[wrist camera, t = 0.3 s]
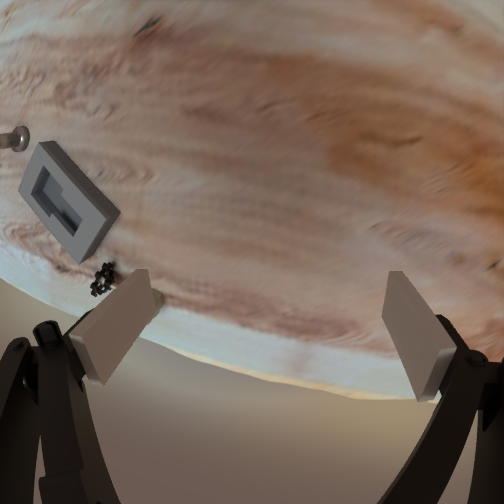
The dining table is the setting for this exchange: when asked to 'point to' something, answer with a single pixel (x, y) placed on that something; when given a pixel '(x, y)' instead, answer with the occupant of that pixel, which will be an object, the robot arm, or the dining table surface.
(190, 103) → the dining table surface
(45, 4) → the dining table surface
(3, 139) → the flanged metal peg
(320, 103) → the dining table surface
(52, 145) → the keyhole board
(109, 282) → the valve
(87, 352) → the robot arm
